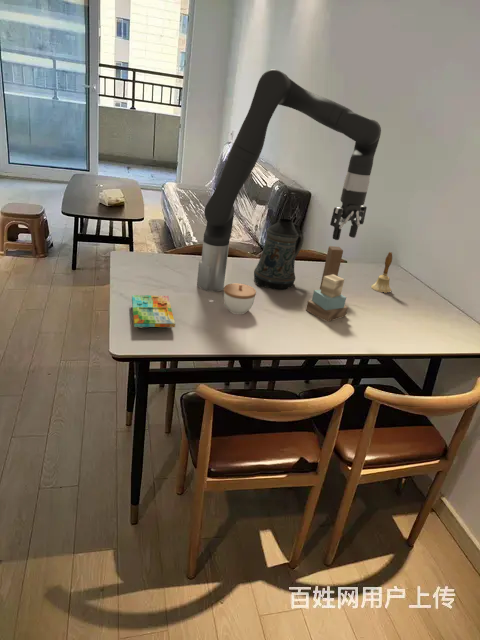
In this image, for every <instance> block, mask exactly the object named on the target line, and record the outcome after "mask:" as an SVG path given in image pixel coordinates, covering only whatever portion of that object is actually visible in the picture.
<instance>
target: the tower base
mask: <svg viewBox="0 0 480 640" xmlns="http://www.w3.org/2000/svg"><path fill="white" fill-rule="evenodd" d="M306 303H307V304H306V308H305V311H306V312H309V313H311V314H312V315H314V316H316V317H318V318H319V319H321V320H323V321H325V322H327V323H328V322H331V321H334V320H337V319H340V318H344V317H346V315H347V312H348V307H349V306H346V304H345V305H344V308H339V309H332V310H325V309H323V308H322V307H320V306H319V305H317V304H316V303H314V302H313V301H312V299H310V300H307V302H306Z"/></svg>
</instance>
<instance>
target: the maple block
mask: <svg viewBox="0 0 480 640" xmlns="http://www.w3.org/2000/svg"><path fill="white" fill-rule="evenodd" d="M344 283H345V279H344V278H342V277H340V276H336V275H334V274H332V275H328V276H324V278H323V283H322V287H321V293H323V294H325V295H327V296H329V297H331V298H333V297H336V296H340V295H341V294H342V291H343V288H344V287H343V286H344Z"/></svg>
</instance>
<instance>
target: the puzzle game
mask: <svg viewBox="0 0 480 640" xmlns="http://www.w3.org/2000/svg"><path fill="white" fill-rule="evenodd" d="M131 304H132V305H131V306H132V318H133V319H132V321H133V327H134V328H137V327H170V328H175V327H176V321H175V319H174V313H173V309H172V305H171V300H170V297H169V295H149V294H147V295H146V294H144V295H142V294H132V295H131Z"/></svg>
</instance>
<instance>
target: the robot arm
mask: <svg viewBox="0 0 480 640" xmlns="http://www.w3.org/2000/svg"><path fill="white" fill-rule="evenodd" d="M253 94H254V95H253V96H252V100H251V104H250V106H249V109H248V112H247V115H246V116H245V118H244V120H243V122H242V124H241V126H240V129H239V130H238V133H237V136H236V137H235V140H234V142H233V144H232V146H231V148H230V151H229V153H228V156H227V158H226V162H225V164H224V166H223V169H222V171H221V175H220V178H219V180H218V183H217V186H216V188H215V189H214V191H213V193H212V194H211V196H210V198H209V200H208V202H207V203H206V204H205V207H204V212H203V213H204V218H205V220H206V227H205V231H204V234H203V240H202V250H201V251H202V252H201V260H200V261H199V262H198V267H197V268H198V269H197V271H198V272H197V279H196V280H197V281H196V286H197V287H199V288H200V289H201V290H203V291H205V292H220V291H224V287H225V281H226V271H227V263H228V255H229V249H230V247H229V246H230V239H231V235H232V230H233V223H234V218H235V217H234V215H235V202H236V201H237V200H236V199H237V196H238V195H239V192H240V191H241V189H242V188H243V186H244V185H245V183H246V181H247V180H248V178H249V176H250V175H251V174H252V172H253V170H254V168H255V167H256V165H257V162H258V160H259V158H260V156H261V153H262V151H263V148H264V145H265V139H266V135H267V130H268V126H269V123H270V121H271V119H272V118H273V115H274V114H275V111H276V109H277V107H278V106H282V107H287V108H290V109H292V110H296V111H298V112H299V113H302V114H304V115H306V117H307V116H308V117H309V118H310V119H313V120H314V121H316V122H318V123H319V124H321V125H323V126H325V127H327V128H329V129H330V130H333V131H335V132H337V133H340V134H342V135H345V136H346V137H348V138H349V139H351V140H352V141H354V142H355V143H354V148H353V152H352V154H351V155H350V158H349V162H348V168H347V173H346V175H345V177H344V178H345V179H344V182H343V185H342V187H343V188H342V192H341V196H340V202H341V206H340V207H338V206H334V208H333V212H332V216H331V220H330V226H332V227H333V232H332V239H333V240H335V241H339V240H340V238H341V237H340V236H341V232H342V227H343V226H344V225H346V224H347V223H348V222H350V223H351V226H350V228H349V233H348V236H349V237H350V238H352V239H353V238H356V236H357V233H358V229H359V227H360V226H361V225H363V224H364V222H365V218H366V212H367V208H368V207H367V206H365V202H366V198H367V193H368V188H369V185H370V178H371V173H372V168H373V166H374V157H375V155H376V151H377V149H378V146H379V142H380V138H381V133H382V127H381V125H380V123H379V122H378V121H377V120H375V119H370V118H368V117H365V116H363V115H361V114H358V113H355V112H354V111H353V110H352V109H350V108H348V107H346V106H345V105H343V104H340V103H338V102H336V101H335V100H334V101H333V100H332V99H329V98H326V97H324V96H322V95H321V96H320V95H318V94H315V93H314V92H311V91H309V90H307V89H305V88H304V87H302V86H300V85H299V84H298V83H296V82H295V81H293V79H291V78H290V77H289V76H288V75H287V74H286V73H284V72H282V71H281V70H279V69H274V68H273V69H272V68H271V69H269V70H267V71H265V72H264V73H263V74H262V75H261V76H260V78H259V80H258V82H257V85H256V88H255V91H254V93H253Z"/></svg>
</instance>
